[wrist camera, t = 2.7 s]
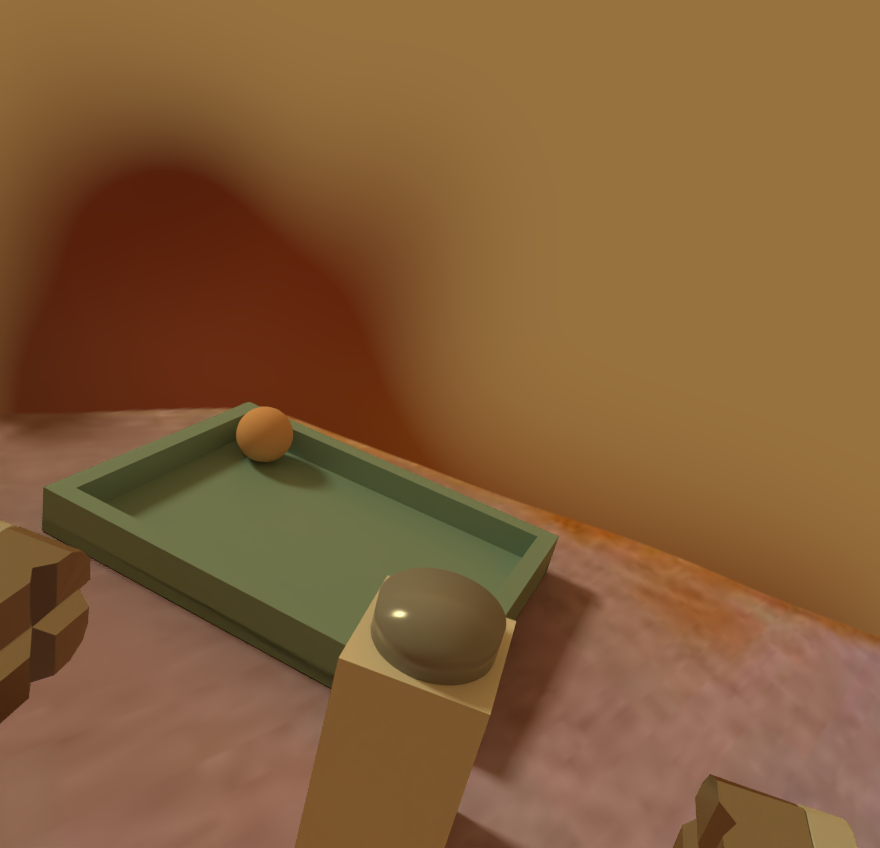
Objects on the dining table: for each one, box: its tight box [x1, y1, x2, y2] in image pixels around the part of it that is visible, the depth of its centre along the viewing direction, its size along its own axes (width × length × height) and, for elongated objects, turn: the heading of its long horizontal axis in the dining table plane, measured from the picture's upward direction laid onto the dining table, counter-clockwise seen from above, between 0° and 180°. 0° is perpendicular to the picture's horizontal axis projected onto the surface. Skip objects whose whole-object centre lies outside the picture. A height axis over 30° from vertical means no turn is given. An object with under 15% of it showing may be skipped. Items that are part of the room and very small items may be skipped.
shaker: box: [295, 568, 516, 848], centre depth 26 cm, size 5×5×10 cm
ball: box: [236, 407, 293, 462], centre depth 48 cm, size 3×3×3 cm
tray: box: [42, 402, 559, 688], centre depth 42 cm, size 22×16×2 cm
